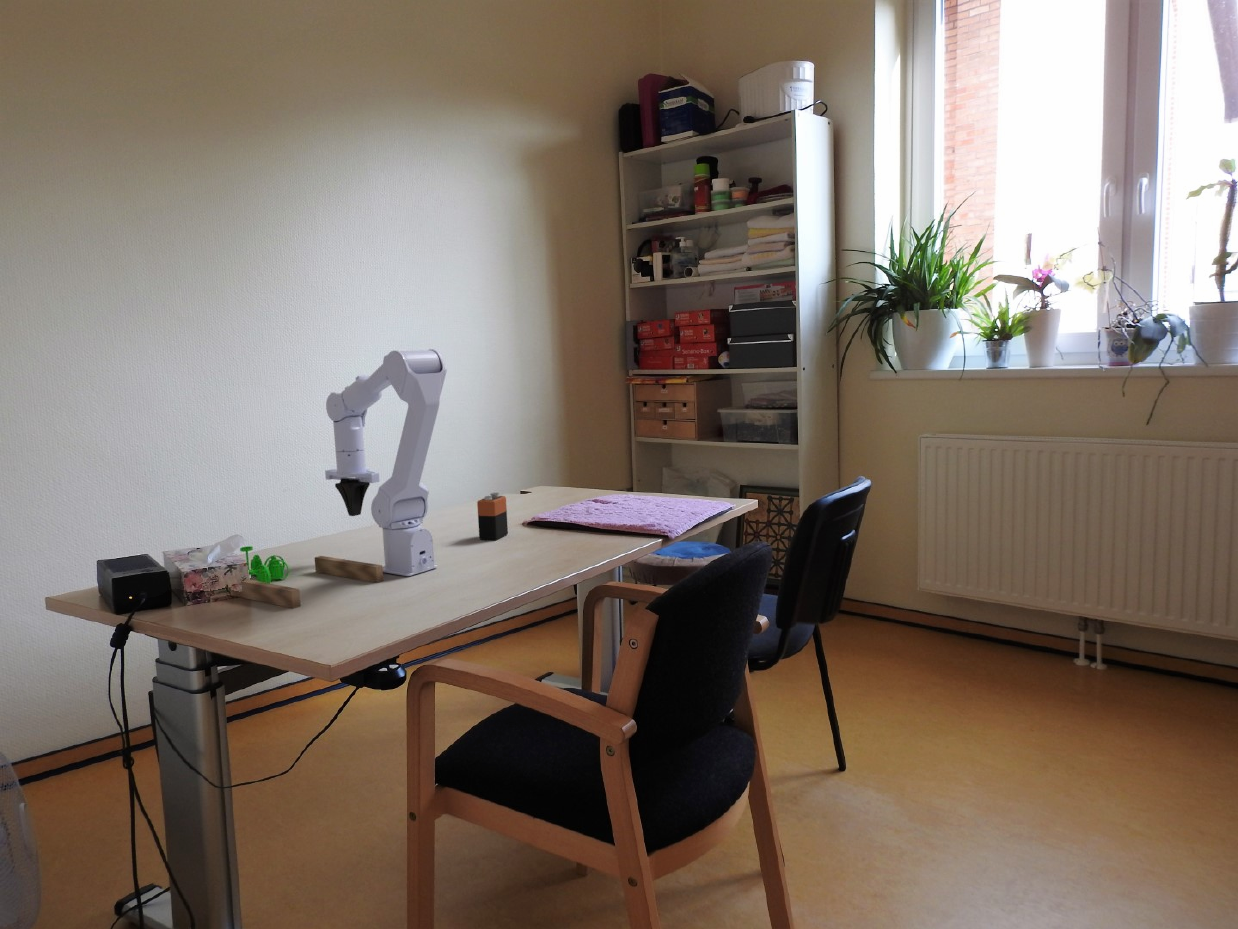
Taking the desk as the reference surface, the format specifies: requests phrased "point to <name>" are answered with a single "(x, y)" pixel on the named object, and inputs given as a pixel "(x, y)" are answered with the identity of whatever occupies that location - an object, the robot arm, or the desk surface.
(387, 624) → the desk surface
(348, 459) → the robot arm
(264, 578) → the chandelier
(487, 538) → the battery
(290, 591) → the pair of wooden bars
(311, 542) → the desk surface
